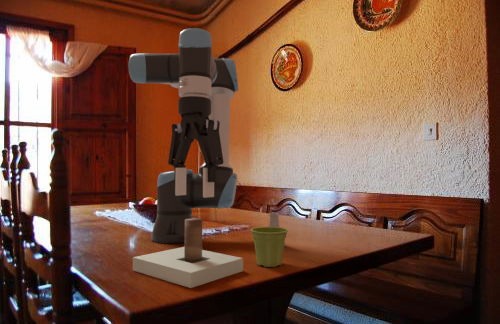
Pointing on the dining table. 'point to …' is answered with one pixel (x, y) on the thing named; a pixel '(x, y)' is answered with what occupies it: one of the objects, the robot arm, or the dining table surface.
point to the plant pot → (269, 245)
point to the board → (187, 267)
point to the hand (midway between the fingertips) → (194, 196)
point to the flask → (274, 221)
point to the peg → (193, 240)
